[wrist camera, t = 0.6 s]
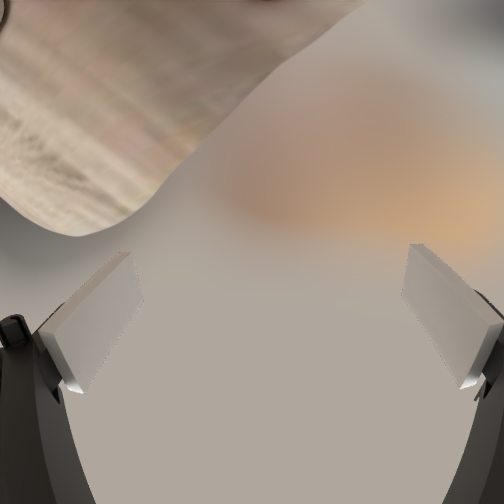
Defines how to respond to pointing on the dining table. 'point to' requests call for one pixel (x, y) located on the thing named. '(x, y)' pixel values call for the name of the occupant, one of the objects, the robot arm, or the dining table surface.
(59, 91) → the dining table surface
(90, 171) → the dining table surface
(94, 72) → the dining table surface
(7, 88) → the dining table surface
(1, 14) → the teacup
